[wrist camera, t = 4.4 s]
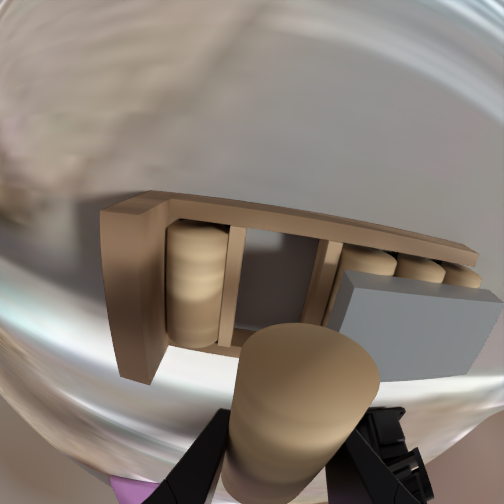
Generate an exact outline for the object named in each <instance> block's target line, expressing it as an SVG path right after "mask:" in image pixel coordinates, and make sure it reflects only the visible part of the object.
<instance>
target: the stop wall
mask: <svg viewBox="0 0 504 504" xmlns="http://www.w3.org/2000/svg"><path fill="white" fill-rule="evenodd" d="M171 193H172V192H163V191H152V190H151V191H148V192H146V193H143V194H140V195H138V196H135V197H132V198H130V199H127V200H125V201H122V202H120V203H117V204H115V205H112V206H110V207H107V208H105V209H102V210H100V242H101V258H102V271H103V281H104V290H105V298H106V305H107V312H108V319H109V325H110V331H111V336H112V342H113V347H114V352H115V356H116V361H117V365H118V369H119V374H120V377H123V378H126V379H130V380H133V381H136V382H140V383H144V384H147V385H150V384H151V382H152V380H153V378H154V376H155V373H156V371H157V369H158V367H159V365H160V362H161V360H162V358H163V356H164V354H165V352H166V350H167V347H168V345H169V343H168V333H167V308H166V261H167V230H168V226H169V225H170V224H171V223H173V222H176V221H179V218H176V217H169V211H170V199H168V198H163V197H165V196H167V195H169V194H171Z"/></svg>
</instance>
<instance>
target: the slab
mask: <svg viewBox="0 0 504 504" xmlns="http://www.w3.org/2000/svg"><path fill="white" fill-rule="evenodd" d="M503 306H504V302H503V301H501V300H500V299H499V298H498V297H497V296H496V295H494V294H493V293H492V292H491V291H490V290H486V289H479V288H471V287H464V286H457V285H449V284H442V283H435V282H428V281H421V280H414V279H406V278H399V277H392V276H385V275H377V274H371V273H364V272H357V271H350V270H343V274H342V277H341V281H340V284H339V288H338V291H337V295H336V298H335V301H334V304H333V308H332V311H331V314H330V317H329V320H328V323H327V326H326V328H329V329H331V330H334V331H337V332H339V333H341V334H343V335H345V336H347V337H349V338H350V339H352V340H354V341H355V342H356V343H358V344H359V345H360V346H361V347H363V348H364V349H365V350H366V351H367V352H368V354H369V355H370V356H371V357H372V359H373V360H374V362H375V364H376V366H377V369H378V371H379V377H380V382H392V381H409V380H422V379H433V378H442V377H450V376H457V375H464V374H467V372H468V371H469V369H470V368H471V366H472V364H473V363H474V361H475V359H476V358H477V356H478V354H479V353H480V351H481V349H482V347H483V346H484V344H485V342H486V340H487V338H488V337H489V335H490V333H491V331H492V329H493V327H494V325H495V323H496V321H497V319H498V317H499V315H500V312H501V310H502V308H503Z"/></svg>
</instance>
